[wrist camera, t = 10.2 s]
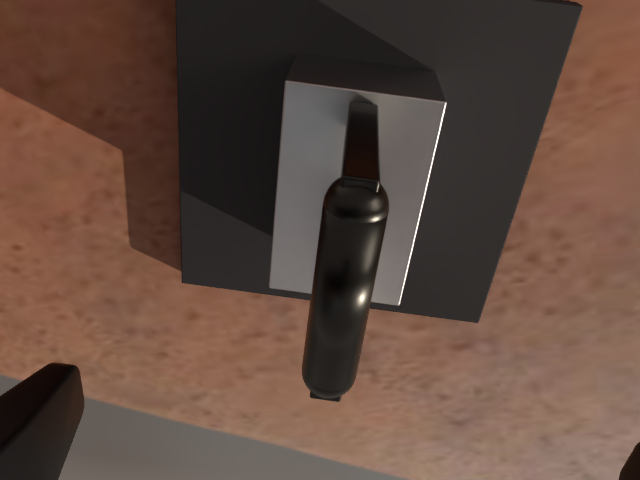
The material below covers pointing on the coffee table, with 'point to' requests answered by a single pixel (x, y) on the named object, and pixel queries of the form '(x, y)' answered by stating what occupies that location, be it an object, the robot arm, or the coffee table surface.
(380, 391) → the coffee table surface
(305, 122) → the silver handled block
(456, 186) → the mat
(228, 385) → the coffee table surface
